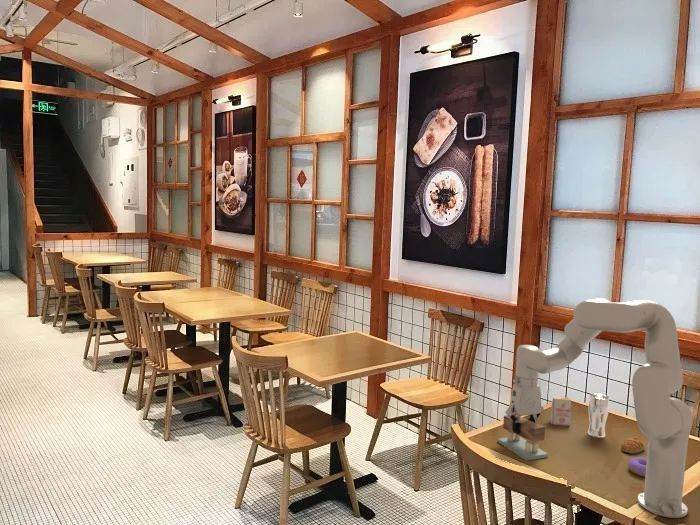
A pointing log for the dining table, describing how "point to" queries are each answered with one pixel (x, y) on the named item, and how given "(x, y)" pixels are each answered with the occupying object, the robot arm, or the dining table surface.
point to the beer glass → (598, 414)
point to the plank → (526, 429)
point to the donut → (638, 466)
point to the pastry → (632, 445)
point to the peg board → (522, 447)
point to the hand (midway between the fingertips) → (523, 431)
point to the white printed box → (561, 412)
